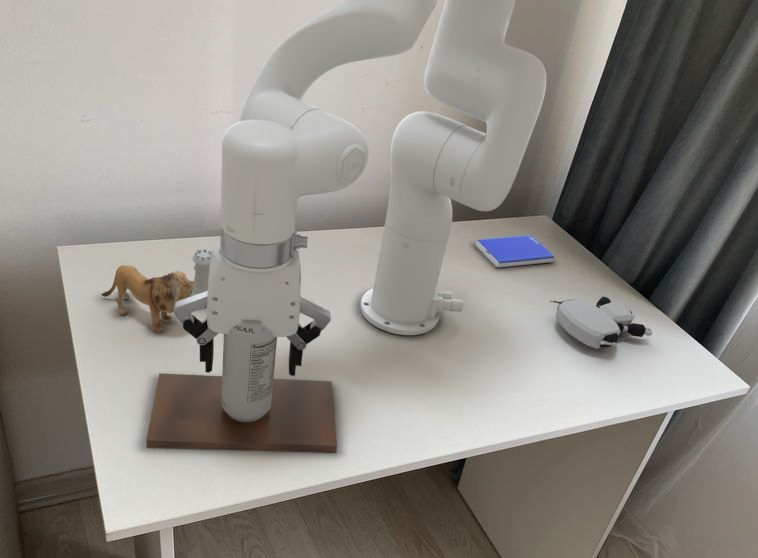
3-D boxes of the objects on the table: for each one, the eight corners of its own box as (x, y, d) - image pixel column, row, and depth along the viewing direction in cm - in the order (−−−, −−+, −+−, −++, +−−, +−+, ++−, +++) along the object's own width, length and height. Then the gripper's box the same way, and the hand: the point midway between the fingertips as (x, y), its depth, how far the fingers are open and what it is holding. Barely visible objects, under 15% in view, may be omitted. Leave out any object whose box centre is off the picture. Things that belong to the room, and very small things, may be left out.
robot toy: (598, 308, 129) (538, 319, 121) (608, 286, 127) (547, 296, 118) (650, 348, 122) (589, 363, 113) (661, 326, 119) (601, 339, 111)
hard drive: (530, 234, 143) (477, 238, 137) (554, 255, 137) (499, 261, 132) (528, 241, 143) (475, 245, 138) (552, 262, 138) (497, 268, 133)
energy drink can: (245, 385, 94) (251, 288, 85) (280, 408, 92) (290, 310, 83) (210, 408, 90) (213, 307, 81) (246, 432, 87) (253, 332, 79)
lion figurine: (201, 323, 105) (201, 269, 99) (179, 342, 100) (179, 287, 95) (113, 290, 107) (109, 236, 102) (88, 307, 103) (83, 252, 98)
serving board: (330, 387, 98) (331, 381, 98) (336, 452, 89) (337, 445, 88) (159, 380, 94) (159, 373, 93) (146, 447, 84) (146, 440, 84)
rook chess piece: (222, 294, 111) (224, 248, 106) (213, 310, 108) (214, 263, 103) (193, 288, 111) (193, 242, 106) (183, 304, 107) (183, 257, 103)
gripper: (337, 230, 81) (322, 350, 92) (175, 217, 78) (178, 343, 88) (341, 267, 76) (325, 390, 86) (167, 254, 72) (171, 385, 83)
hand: (251, 366), depth 87 cm, fingers open, 9 cm apart
